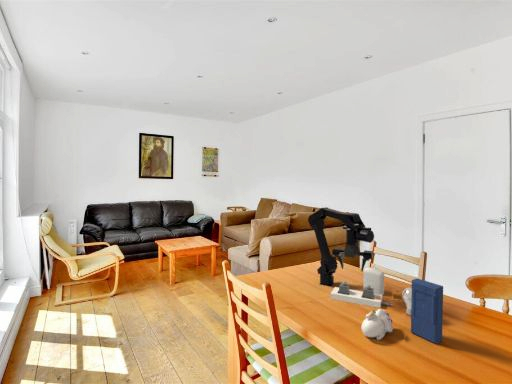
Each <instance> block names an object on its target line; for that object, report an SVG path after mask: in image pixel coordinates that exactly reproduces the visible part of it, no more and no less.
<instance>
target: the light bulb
mask: <svg viewBox="0 0 512 384" xmlns="http://www.w3.org/2000/svg"><path fill="white" fill-rule="evenodd" d="M401 294H402V295H401V297H402V300H403V301H404V304H405V308H406V314H407V315H409V316H410V317H411V298H412V289H411V287H407V288H405V289H404V290H403V291H402V293H401Z"/></svg>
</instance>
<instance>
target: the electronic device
mask: <svg viewBox="0 0 512 384" xmlns="http://www.w3.org/2000/svg"><path fill="white" fill-rule="evenodd" d="M411 289H412V298H411V316H410V332H411V333H412V334H415V335H416V336H418V337H421V338H423V339H425V340H427V341H429V342H431V343H434V344H436V345H438V344H439V343H441V342H443V324H444V323H443V319H444V318H443V317H444V286H443V285H440V284H438V283H435V282H431V281H427V280H424V279H420V278H414V279H412V280H411Z"/></svg>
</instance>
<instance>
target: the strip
mask: <svg viewBox="0 0 512 384" xmlns="http://www.w3.org/2000/svg"><path fill="white" fill-rule="evenodd" d="M330 300H335V301H339V302H340V301H341V302H346V303H352V304H355V305H357V304H358V305H362V306H367V307H371V308H378V309H382V305H383V306H390V307H392V302H386V301H383V295H380V294H375V293H374V300H373V299H367V298H363V291H362V290H357V289H350V291H349V295H345V294H339V286H338V287H337V286H335V287H333V289H332V291H331V292H330Z"/></svg>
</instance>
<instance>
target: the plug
mask: <svg viewBox="0 0 512 384" xmlns="http://www.w3.org/2000/svg"><path fill="white" fill-rule="evenodd" d="M362 292H363V298H367V299H373V300H374V294H375V293H374V288H371V286H370V285H366V287H364V289H363V291H362Z"/></svg>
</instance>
